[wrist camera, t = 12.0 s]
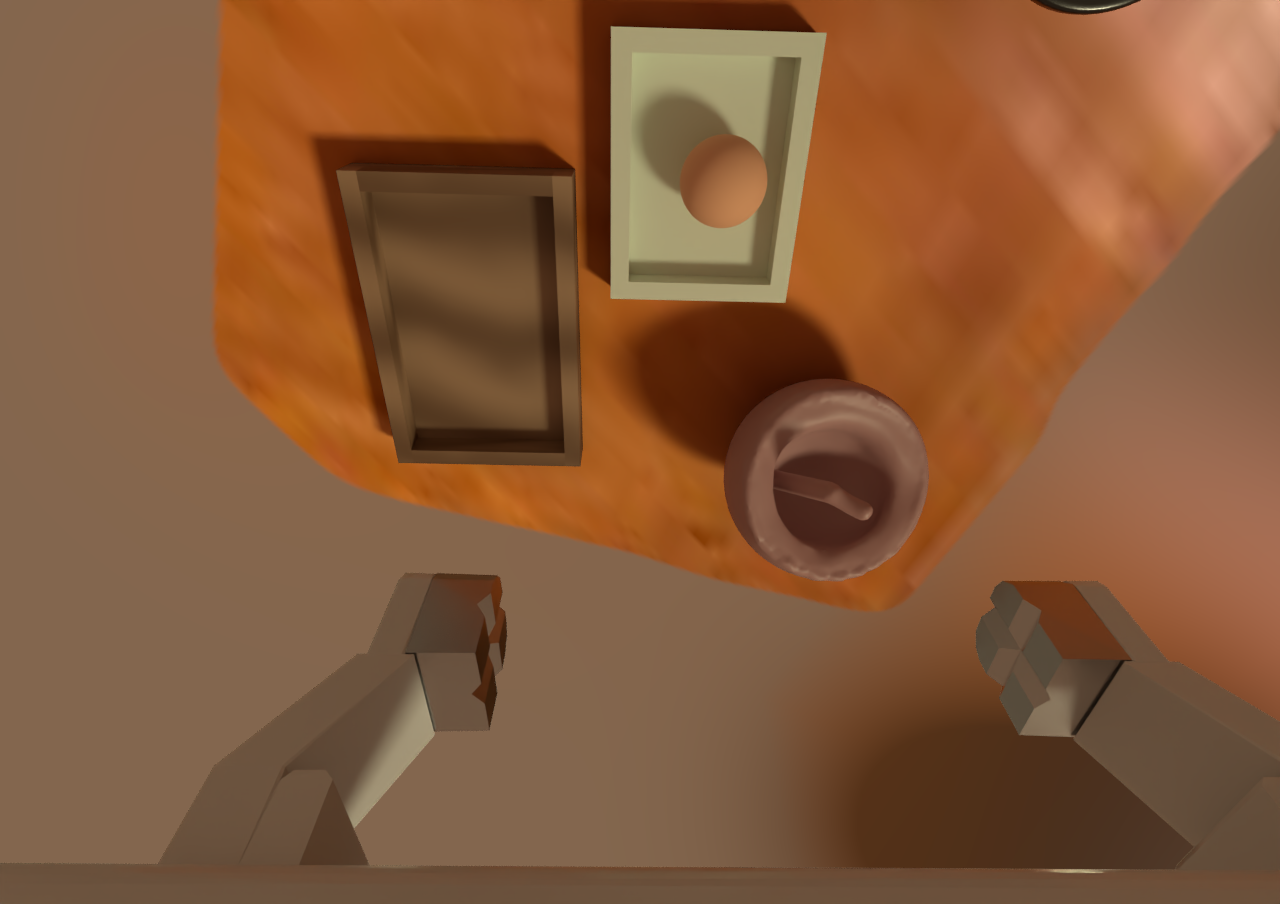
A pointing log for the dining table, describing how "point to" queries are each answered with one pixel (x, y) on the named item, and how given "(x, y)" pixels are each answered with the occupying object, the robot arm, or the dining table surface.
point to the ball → (723, 181)
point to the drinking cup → (1083, 5)
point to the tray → (674, 125)
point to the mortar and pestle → (826, 478)
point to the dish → (471, 308)
